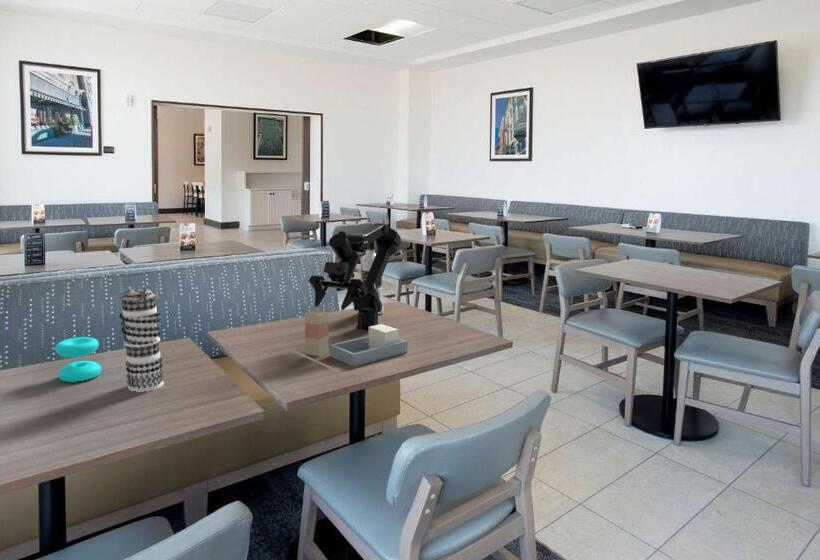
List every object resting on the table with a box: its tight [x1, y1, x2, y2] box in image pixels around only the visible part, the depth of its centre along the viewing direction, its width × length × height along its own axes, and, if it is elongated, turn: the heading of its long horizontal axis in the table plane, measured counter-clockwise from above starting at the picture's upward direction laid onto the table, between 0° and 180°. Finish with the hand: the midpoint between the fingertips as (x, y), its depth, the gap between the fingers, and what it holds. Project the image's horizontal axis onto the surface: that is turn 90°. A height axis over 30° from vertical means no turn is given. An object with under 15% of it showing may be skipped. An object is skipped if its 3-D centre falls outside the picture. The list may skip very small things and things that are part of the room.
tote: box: [328, 335, 408, 367], centre depth 173 cm, size 20×12×4 cm, turn 132°
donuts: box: [54, 336, 102, 383], centre depth 154 cm, size 10×10×10 cm
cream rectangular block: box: [368, 323, 399, 349], centre depth 176 cm, size 5×8×7 cm, turn 42°
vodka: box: [360, 241, 385, 316], centre depth 222 cm, size 9×9×30 cm
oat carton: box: [304, 309, 330, 357], centre depth 173 cm, size 5×5×13 cm
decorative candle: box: [118, 287, 165, 393], centre depth 146 cm, size 9×9×25 cm
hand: (328, 307), depth 178 cm, fingers open, 9 cm apart
